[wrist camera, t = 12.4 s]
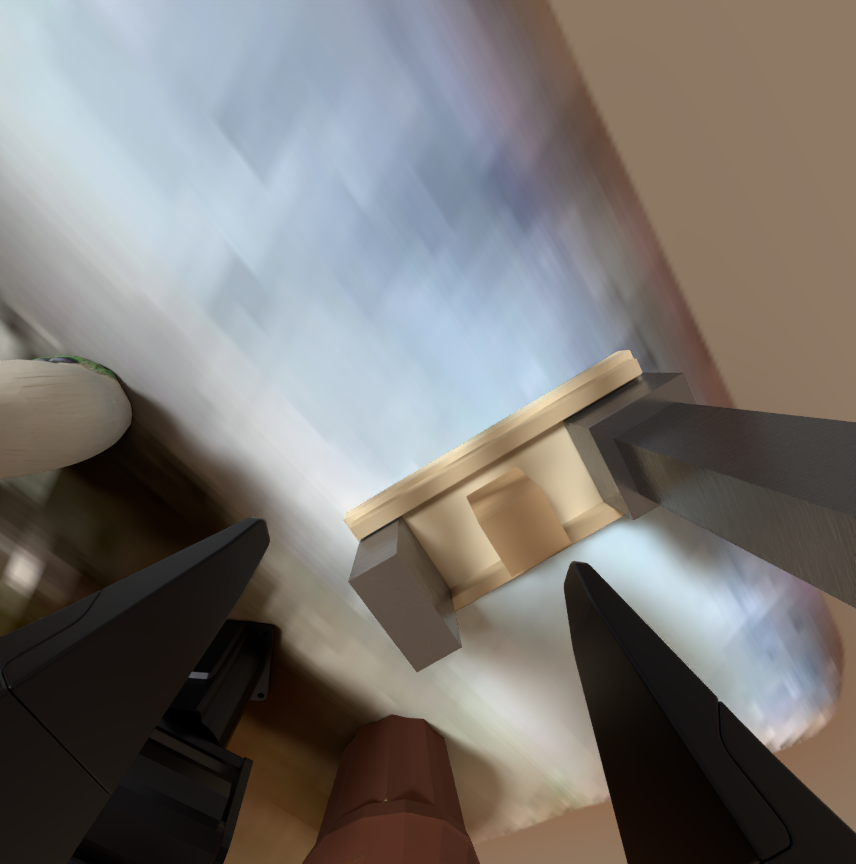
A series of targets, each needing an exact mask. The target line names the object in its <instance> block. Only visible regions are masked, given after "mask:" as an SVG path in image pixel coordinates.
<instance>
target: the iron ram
mask: <svg viewBox="0 0 856 864" xmlns="http://www.w3.org/2000/svg"><path fill="white" fill-rule="evenodd" d="M563 422H564V424H565V426H566V428H567V430H568V432H569V434H570V436H571V438H572V440H573V442H574V444H575V446H576V448H577V450H578V452H579V454H580V456H581V458H582V460H583V462H584V464H585V466H586V467H587V469H588V471H589V473H590V475H591V477H592V479H593V481H594V483H595V485H596V487H597V489H598V491H599V493H600V495H601V497H602V499H603V500H604V501H605V502H607V503H608V504H610V505H611V506H613V507H614V508H616V509H617V510H619V511H620V512H622V513H624V514H625V515H627V516H628V517H630V518H631V519H633V520H635V519H636V518H638V517H640V516H642V515H643V514H645V513H647V512H649V511H650V510H652V509H654V508H656V507H657V506H659V505H661V506H663V507H665V508H666V509H668V510H670V511H672V512H674V513H676V514H678V515H680V516H682V517H684V518H685V519H687V520H689V521H691V522H693V523H695V524H697V525H699V526H701V527H702V528H704V529H706V530H708V531H710V532H712V533H714V534H716V535H718V536H720V537H721V538H723V539H725V540H727V541H729V542H731V543H733V544H735V545H737V546H738V547H740V548H742V549H744V550H746V551H748V552H750V553H752V554H754V555H756V556H757V557H759V558H761V559H763V560H765V561H767V562H769V563H771V564H773V565H775V566H776V567H778V568H780V569H782V570H784V571H786V572H788V573H790V574H792V575H793V576H795V577H797V578H799V579H801V580H803V581H805V582H807V583H809V584H811V585H812V586H814V587H816V588H818V589H820V590H822V591H824V592H826V593H828V594H830V595H831V596H833V597H835V598H837V599H839V600H841V601H843V602H845V603H847V604H849V605H851V606H852V607H854V608H856V422H847V421H838V420H829V419H820V418H811V417H803V416H794V415H785V414H776V413H767V412H758V411H749V410H740V409H731V408H722V407H714V406H705V405H696V403H695V400H694V398H693V396H692V393H691V391H690V388H689V386H688V383H687V381H686V378H685V376H684V373H642V374H640V375H639V376H637V377H635V378H634V379H632V380H630V381H629V382H627V383H625V384H624V385H622V386H620V387H618V388H617V389H615V390H613V391H612V392H610V393H608V394H607V395H605V396H603V397H602V398H600V399H598V400H596V401H595V402H593V403H591V404H590V405H588V406H586V407H585V408H583V409H581V410H580V411H578V412H576V413H574V414H573V415H571V416H569V417H568V418H566V419H564V420H563Z"/></svg>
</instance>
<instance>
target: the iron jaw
mask: <svg viewBox="0 0 856 864" xmlns="http://www.w3.org/2000/svg"><path fill="white" fill-rule="evenodd" d="M348 582H349V583H350V584H351V586H352V587H353V588H354V590H355V591H356V592H357V594H358V595H359V596H360V598H361V599H362V600H363V602H364V603H365V604H366V606H367V607H368V608H369V610H370V611H371V612H372V614H373V615H374V616H375V618H376V619H377V620H378V622H379V623H380V624H381V625H382V627H383V628H384V629H385V631H386V632H387V633H388V635H389V636H390V637H391V639H392V640H393V641H394V643H395V644H396V645H397V647H398V648H399V649H400V651H401V652H402V653H403V655H404V656H405V657H406V659H407V660H408V661H409V663H410V664H411V665H412V666H413V668H414V669H415V670H416V672H418V671H420V670H422V669H424V668H426V667H427V666H429V665H431V664H433V663H434V662H436V661H438V660H440V659H442V658H443V657H445V656H447V655H449V654H450V653H452V652H454V651H456V650H458V649H459V648H461V647H462V645H461V640H460V635H459V630H458V625H457V620H456V614H455V609H454V604H453V599H452V594H451V589H450V587H449V585H448V584H447V582H446V581H445V579H444V578H443V576H442V575H441V573H440V572H439V570H438V569H437V567H436V566H435V564H434V563H433V561H432V560H431V558H430V557H429V555H428V554H427V552H426V551H425V550H424V548H423V547H422V545H421V544H420V542H419V541H418V539H417V538H416V536H415V535H414V533H413V532H412V530H411V529H410V527H409V526H408V524H407V523H406V521H405V520H404V518H403V517H402V515H401V516H399V517H398V518H396V519H394V520H393V521H391V522H389V523H388V524H386V525H384V526H382V527H381V528H379V529H377V530H376V531H374V532H372V533H371V534H369V535H367V536H366V537H364V538H362V539H360V543H359V546H358V550H357V553H356V557H355V560H354V564H353V567H352V571H351V574H350V578H349V581H348Z"/></svg>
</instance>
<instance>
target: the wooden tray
mask: <svg viewBox="0 0 856 864" xmlns="http://www.w3.org/2000/svg"><path fill="white" fill-rule="evenodd" d="M640 374H642V371H641V368H640V366H639V364H638V361H637V359H634V358H633V356H632V354H631V352H630V350H625V351H617V352H616V353H614V354H612V355H610V356H609V357H607V358H605V359H604V360H602V361H600V362H599V363H597V364H595V365H594V366H592V367H590V368H589V369H587V370H585V371H584V372H582V373H580V374H579V375H577V376H575V377H574V378H572V379H570V380H569V381H567V382H565V383H564V384H562V385H560V386H559V387H557V388H555V389H553V390H552V391H550V392H548V393H547V394H545V395H543V396H542V397H540V398H538V399H537V400H535V401H533V402H532V403H530V404H528V405H527V406H525V407H523V408H522V409H520V410H518V411H517V412H515V413H513V414H512V415H510V416H508V417H507V418H505V419H503V420H501V421H500V422H498V423H496V424H495V425H493V426H491V427H490V428H488V429H486V430H485V431H483V432H481V433H480V434H478V435H476V436H475V437H473V438H471V439H470V440H468V441H466V442H465V443H463V444H461V445H460V446H458V447H456V448H455V449H453V450H451V451H449V452H448V453H446V454H444V455H443V456H441V457H439V458H438V459H436V460H434V461H433V462H431V463H429V464H428V465H426V466H424V467H423V468H421V469H419V470H418V471H416V472H414V473H413V474H411V475H409V476H408V477H406V478H404V479H403V480H401V481H399V482H398V483H396V484H394V485H392V486H391V487H389V488H387V489H386V490H384V491H382V492H381V493H379V494H377V495H376V496H374V497H372V498H371V499H369V500H367V501H366V502H364V503H362V504H361V505H359V506H357V507H356V508H354V509H352V510H351V511H349V512H347V514H346V516H345V518H344V522H345V523H346V525H347V526H348V527H349V529H350V530H351V531H352V533H353V534H354V536H355V537H356V538H357V540H358V541H359V543H360V539H362V538H364V537H366V536H367V535H369V534H371V533H372V532H374V531H376V530H377V529H379V528H381V527H382V526H384V525H386V524H388V523H389V522H391V521H393V520H394V519H396V518H398V517H399V516H401V515H402V517H403V518H404V520H405V521H406V523H407V524H408V526H409V527H410V529H411V530H412V532H413V533H414V535H415V536H416V538H417V539H418V541H419V542H420V544H421V545H422V547H423V548H424V550H425V551H426V552H427V554H428V555H429V557H430V558H431V560H432V561H433V563H434V564H435V566H436V567H437V569H438V570H439V572H440V573H441V575H442V576H443V578H444V579H445V581H446V582H447V584H448V585H449V587H450V589H451V594H452V599H453V604H454V609H455V611H457V610H459V609H460V608H462V607H464V606H466V605H468V604H469V603H471V602H473V601H475V600H476V599H478V598H480V597H482V596H483V595H485V594H487V593H489V592H490V591H492V590H494V589H496V588H497V587H499V586H501V585H503V584H504V583H506V582H508V581H510V580H511V579H513V578H515V577H517V576H518V575H520V574H522V573H524V572H525V571H527V570H529V569H531V568H532V567H534V566H536V565H538V564H539V563H541V562H543V561H545V560H547V559H548V558H550V557H552V556H554V555H555V554H557V553H559V552H561V551H562V550H564V549H566V548H568V547H569V546H571V545H573V544H575V543H576V542H578V541H580V540H582V539H583V538H585V537H587V536H589V535H590V534H592V533H594V532H596V531H597V530H599V529H601V528H603V527H604V526H606V525H608V524H610V523H611V522H613V521H615V520H617V519H619V518H620V517H622V516H624V515H625V514H624V513H622V512H620V511H619V510H617V509H616V508H614V507H613V506H611V505H610V504H608V503H607V502H605V501H604V500H603V499H602V497H601V495H600V493H599V491H598V489H597V487H596V485H595V483H594V481H593V479H592V477H591V475H590V473H589V471H588V469H587V467H586V466H585V464H584V462H583V460H582V458H581V456H580V454H579V452H578V450H577V448H576V446H575V444H574V442H573V440H572V438H571V436H570V434H569V432H568V430H567V428H566V426H565V424H564V422H563V420H564V419H566V418H568V417H569V416H571V415H573V414H574V413H576V412H578V411H580V410H581V409H583V408H585V407H586V406H588V405H590V404H591V403H593V402H595V401H596V400H598V399H600V398H602V397H603V396H605V395H607V394H608V393H610V392H612V391H613V390H615V389H617V388H618V387H620V386H622V385H624V384H625V383H627V382H629V381H630V380H632V379H634V378H635V377H637V376H639V375H640ZM515 467H518V468H519V469H520V470H521V471H522V472H523V473H524V474H526V475H527V476H528V477H529V478H530V479H531V480H533V481H534V482H535V483H536V484H537V485H538V486H539V487H541V489H542V490H543V492H544V494H545V496H546V498H547V499H548V501H549V503H550V505H551V507H552V509H553V510H554V512H555V514H556V516H557V518H558V519H559V521H560V523H561V525H562V527H563V528H564V530H565V532H566V534H567V536H568V537H569V539H570V541H571V544H570V545H568V546H566V547H564V548H562V549H561V550H559V551H557V552H555V553H554V554H552V555H550V556H548V557H547V558H545V559H543V560H541V561H540V562H538V563H536V564H534V565H533V566H531V567H529V568H527V569H526V570H524V571H522V572H520V573H519V574H517V575H515V576H513V577H511V575H510V573H509V572H508V570H507V569H506V567H505V565H504V564H503V562H502V561H501V559H500V557H499V556H498V554H497V552H496V551H495V549H494V548H493V546H492V544H491V543H490V541H489V539H488V538H487V536H486V535H485V533H484V531H483V530H482V528H481V527H480V525H479V523H478V521H477V519H476V517H475V514H474V512H473V510H472V508H471V506H470V504H469V502H468V499H467V497H466V496H468V495H469V494H471V493H473V492H474V491H476V490H478V489H479V488H481V487H483V486H485V485H486V484H488V483H490V482H491V481H493V480H495V479H496V478H498V477H500V476H502V475H503V474H505V473H507V472H508V471H510V470H512V469H513V468H515Z"/></svg>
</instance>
